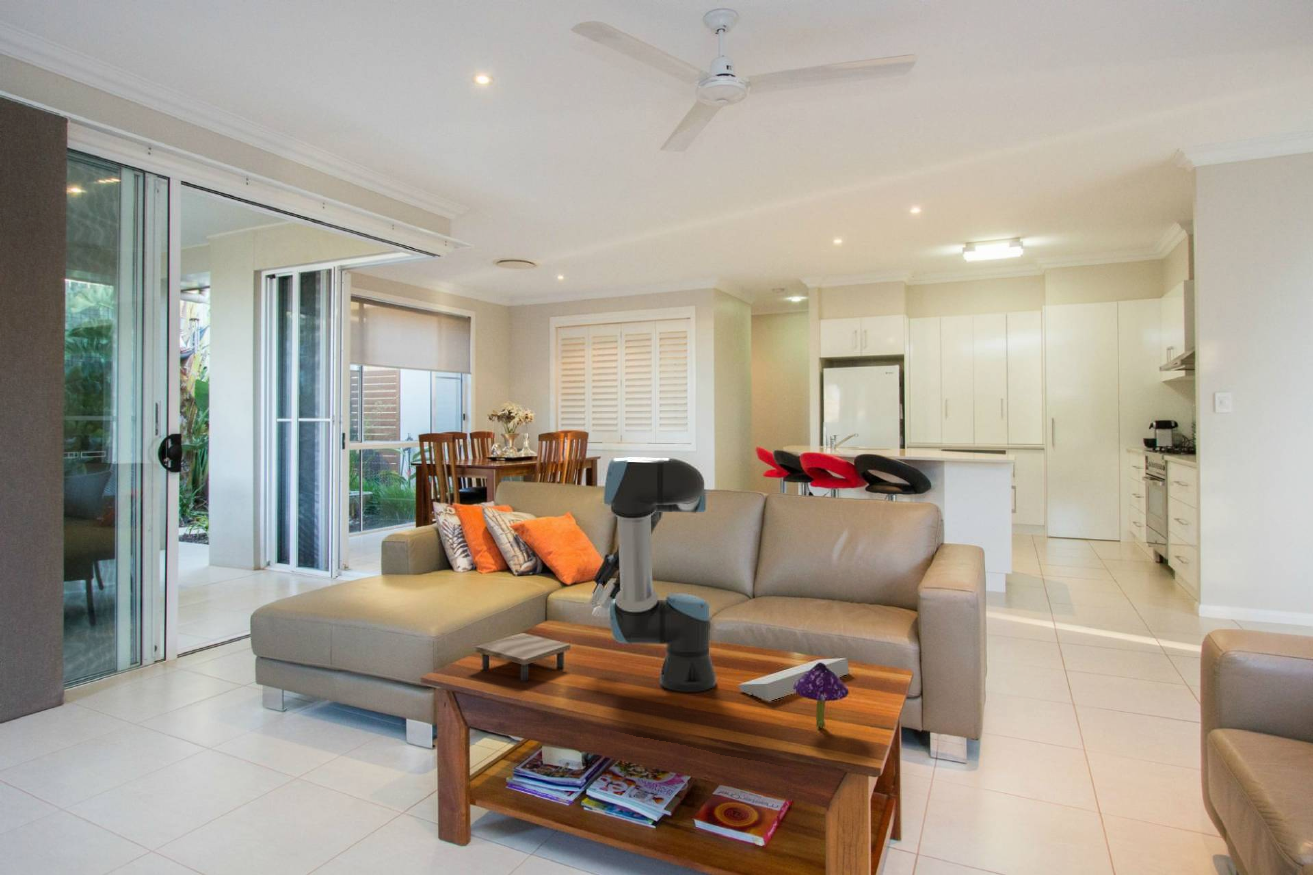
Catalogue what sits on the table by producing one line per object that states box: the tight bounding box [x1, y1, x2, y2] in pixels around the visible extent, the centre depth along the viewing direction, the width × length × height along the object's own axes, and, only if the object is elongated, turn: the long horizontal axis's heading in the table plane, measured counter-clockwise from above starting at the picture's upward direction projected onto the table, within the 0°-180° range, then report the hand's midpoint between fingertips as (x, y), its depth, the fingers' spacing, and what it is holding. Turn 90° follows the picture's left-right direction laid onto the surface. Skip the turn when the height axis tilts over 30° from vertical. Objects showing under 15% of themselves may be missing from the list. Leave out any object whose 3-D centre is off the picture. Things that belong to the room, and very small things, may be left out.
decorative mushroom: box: [793, 662, 850, 729], centre depth 159 cm, size 12×12×15 cm
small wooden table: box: [475, 632, 571, 682], centre depth 200 cm, size 20×18×6 cm
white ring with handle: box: [591, 578, 616, 618], centre depth 205 cm, size 8×12×7 cm
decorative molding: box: [738, 657, 851, 702], centre depth 189 cm, size 34×5×10 cm
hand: (598, 605), depth 200 cm, fingers closed on white ring with handle, 4 cm apart
